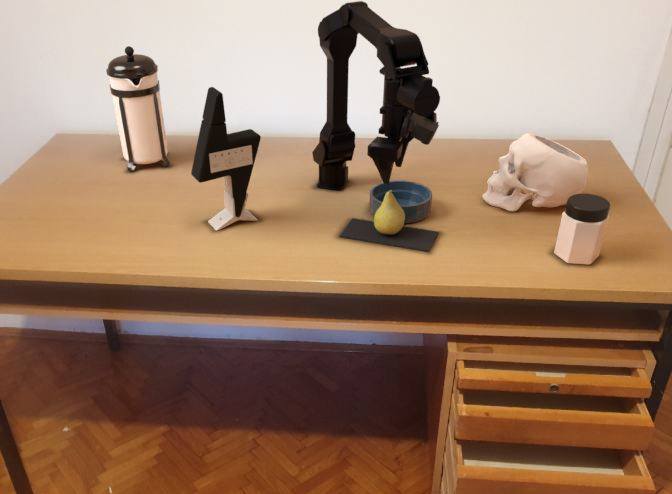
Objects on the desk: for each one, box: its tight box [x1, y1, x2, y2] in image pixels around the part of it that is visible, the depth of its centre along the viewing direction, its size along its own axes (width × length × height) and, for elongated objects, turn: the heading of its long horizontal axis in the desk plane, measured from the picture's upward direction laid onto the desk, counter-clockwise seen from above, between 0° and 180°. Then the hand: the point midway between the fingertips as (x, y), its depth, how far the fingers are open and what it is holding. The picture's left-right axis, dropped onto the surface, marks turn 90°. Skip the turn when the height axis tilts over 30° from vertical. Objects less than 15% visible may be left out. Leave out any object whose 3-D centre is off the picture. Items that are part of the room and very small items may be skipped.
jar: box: [553, 193, 611, 266], centre depth 142 cm, size 9×8×12 cm
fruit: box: [373, 190, 405, 235], centre depth 151 cm, size 7×8×12 cm
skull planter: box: [481, 132, 589, 212], centre depth 162 cm, size 14×20×19 cm
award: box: [191, 86, 262, 232], centre depth 153 cm, size 15×5×30 cm, turn 117°
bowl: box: [368, 179, 433, 224], centre depth 163 cm, size 14×14×4 cm
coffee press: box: [105, 46, 171, 173], centre depth 184 cm, size 17×16×30 cm
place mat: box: [339, 217, 439, 253], centre depth 155 cm, size 20×9×1 cm, turn 68°
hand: (392, 174), depth 150 cm, fingers open, 9 cm apart
